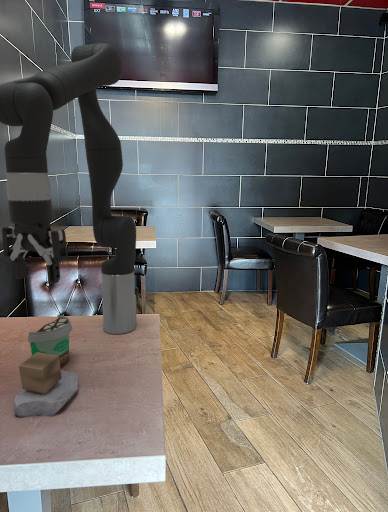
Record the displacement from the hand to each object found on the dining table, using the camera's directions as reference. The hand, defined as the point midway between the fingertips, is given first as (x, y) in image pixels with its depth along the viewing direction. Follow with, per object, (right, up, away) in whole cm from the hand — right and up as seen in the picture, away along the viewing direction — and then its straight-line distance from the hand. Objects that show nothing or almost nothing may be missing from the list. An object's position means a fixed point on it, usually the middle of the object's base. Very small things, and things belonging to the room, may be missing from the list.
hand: (37, 280), depth 72 cm
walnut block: (+2, -20, -2) cm, 20 cm away
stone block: (+3, -24, 0) cm, 24 cm away
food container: (-1, -21, +14) cm, 25 cm away
